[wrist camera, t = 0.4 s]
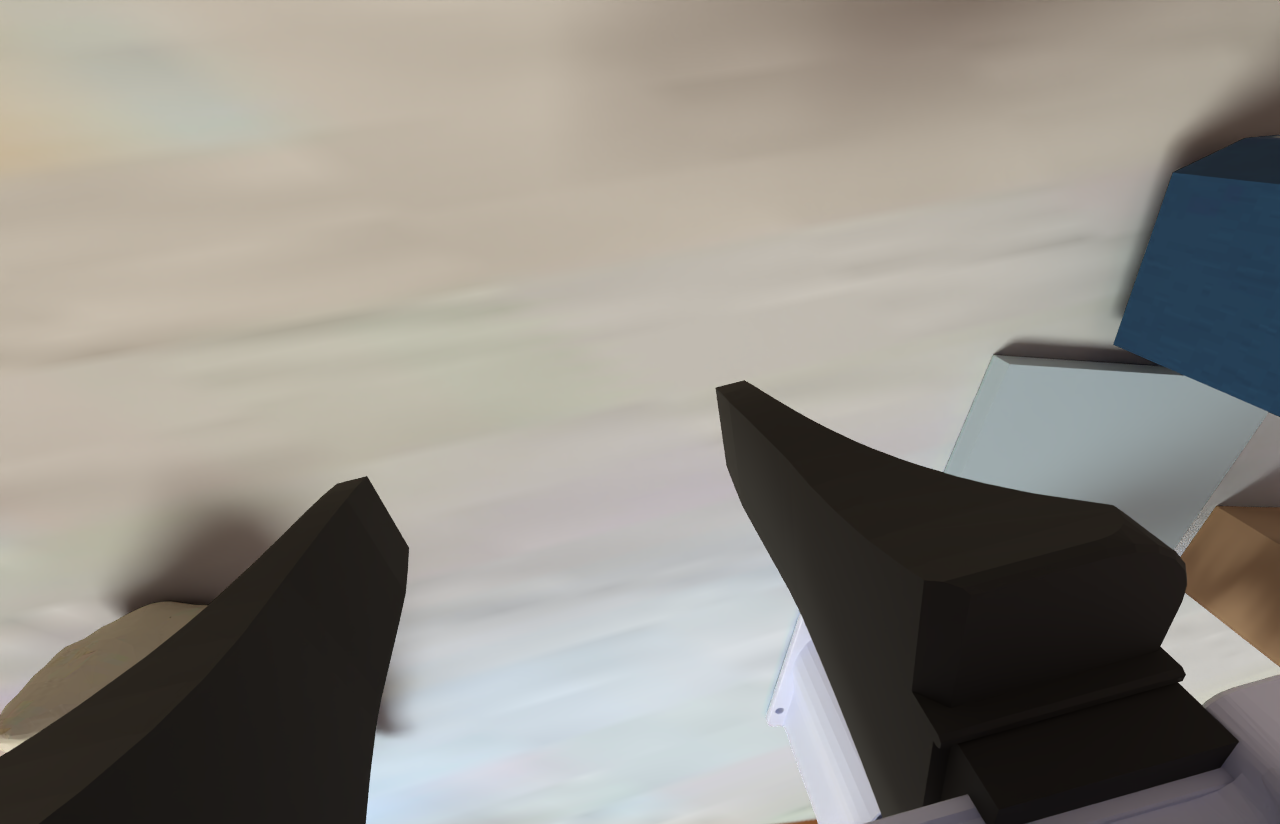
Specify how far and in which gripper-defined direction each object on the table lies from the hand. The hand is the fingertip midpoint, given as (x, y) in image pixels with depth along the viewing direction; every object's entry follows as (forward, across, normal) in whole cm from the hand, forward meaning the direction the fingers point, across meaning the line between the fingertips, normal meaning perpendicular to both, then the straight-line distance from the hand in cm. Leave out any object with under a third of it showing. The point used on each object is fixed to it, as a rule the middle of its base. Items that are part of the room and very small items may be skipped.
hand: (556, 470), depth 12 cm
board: (+9, -22, +15) cm, 28 cm away
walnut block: (+8, -32, +22) cm, 40 cm away
